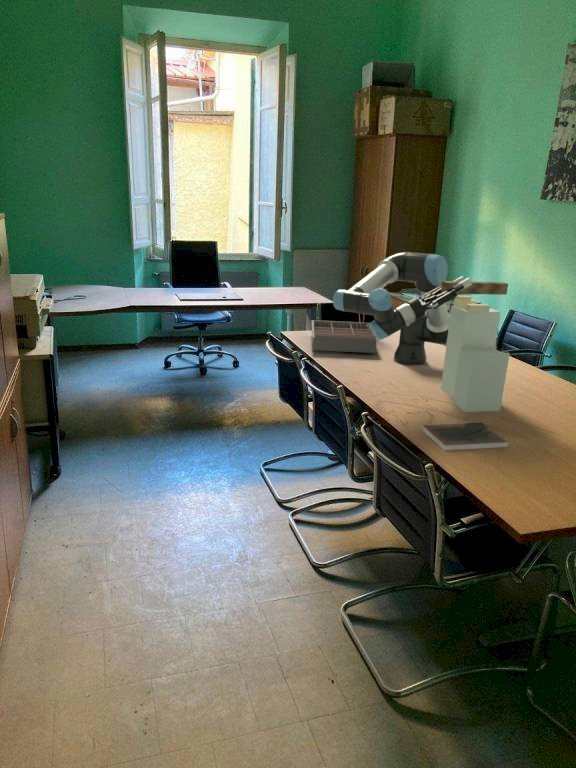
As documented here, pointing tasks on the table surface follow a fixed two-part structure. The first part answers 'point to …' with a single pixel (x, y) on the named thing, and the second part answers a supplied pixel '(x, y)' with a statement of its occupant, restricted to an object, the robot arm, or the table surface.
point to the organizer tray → (343, 336)
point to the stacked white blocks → (467, 334)
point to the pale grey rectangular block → (480, 379)
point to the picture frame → (464, 436)
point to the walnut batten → (478, 287)
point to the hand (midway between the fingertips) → (466, 280)
